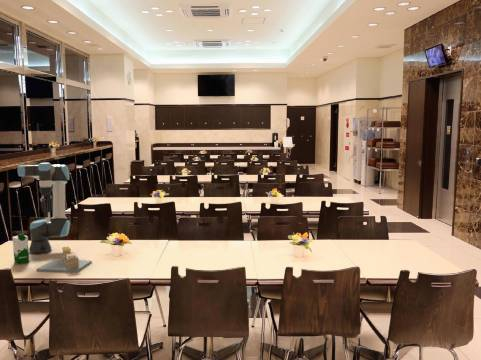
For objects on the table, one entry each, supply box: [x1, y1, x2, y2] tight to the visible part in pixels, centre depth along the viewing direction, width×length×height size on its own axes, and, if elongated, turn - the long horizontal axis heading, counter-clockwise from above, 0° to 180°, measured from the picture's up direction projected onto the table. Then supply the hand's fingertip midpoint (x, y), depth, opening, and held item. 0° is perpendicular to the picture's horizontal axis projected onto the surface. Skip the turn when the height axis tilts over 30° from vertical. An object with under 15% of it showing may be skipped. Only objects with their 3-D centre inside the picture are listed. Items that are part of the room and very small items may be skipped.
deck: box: [36, 246, 93, 274], centre depth 299 cm, size 21×27×11 cm
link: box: [62, 251, 80, 270], centre depth 297 cm, size 18×6×7 cm, turn 34°
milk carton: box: [12, 233, 30, 265], centre depth 308 cm, size 9×9×20 cm
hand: (47, 222), depth 299 cm, fingers closed
